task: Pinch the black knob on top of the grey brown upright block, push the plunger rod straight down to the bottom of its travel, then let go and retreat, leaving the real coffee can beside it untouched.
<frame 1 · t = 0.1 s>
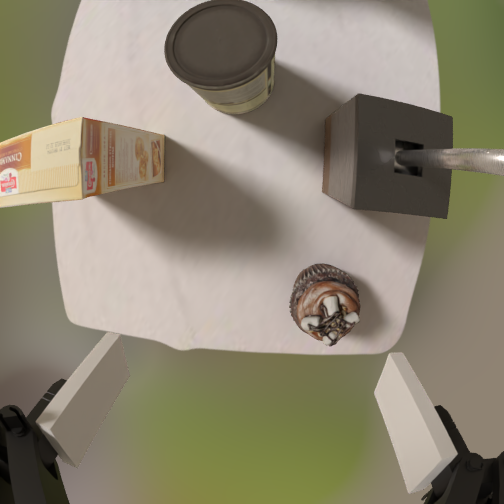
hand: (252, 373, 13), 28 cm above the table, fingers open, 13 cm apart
coffee can: (236, 80, 34), on the table
coffeecake box: (119, 161, 38), on the table
plunger: (460, 159, 14), point 23 cm above the table, slide at 0.0 cm
grey brown upright block: (359, 159, 36), on the table
cupcake: (319, 288, 42), on the table
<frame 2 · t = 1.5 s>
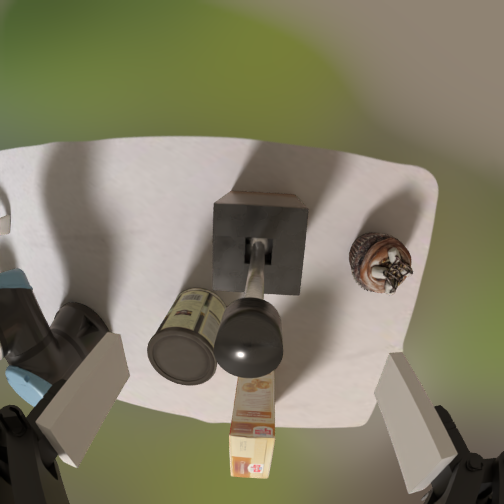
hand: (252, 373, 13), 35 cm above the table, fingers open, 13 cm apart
coffee can: (200, 312, 51), on the table
coffeecake box: (255, 384, 56), on the table
plunger: (255, 278, 24), point 23 cm above the table, slide at 0.0 cm
grey brown upright block: (261, 223, 46), on the table
cupcake: (369, 254, 47), on the table
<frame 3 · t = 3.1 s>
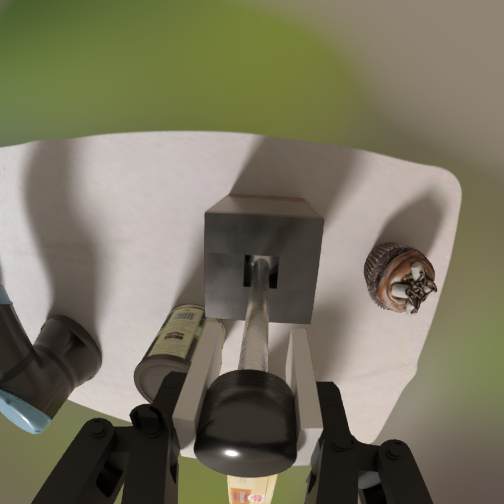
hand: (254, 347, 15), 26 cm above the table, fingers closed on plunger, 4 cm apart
coffee can: (195, 330, 45), on the table
coffeecake box: (257, 406, 50), on the table
plunger: (257, 316, 18), point 23 cm above the table, slide at 0.0 cm, touching gripper
grey brown upright block: (263, 232, 39), on the table
cupcake: (386, 267, 40), on the table
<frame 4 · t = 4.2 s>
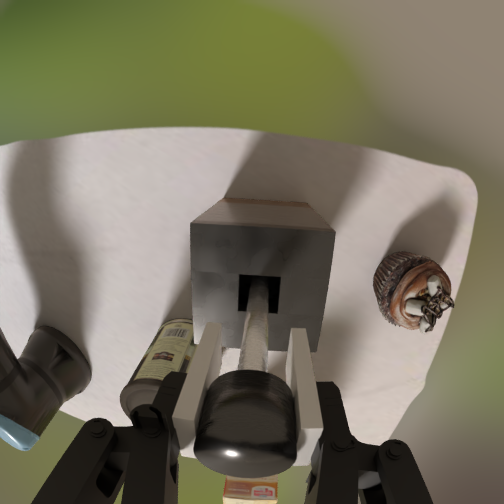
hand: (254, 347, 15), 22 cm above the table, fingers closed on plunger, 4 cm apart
coffee can: (188, 346, 41), on the table
coffeecake box: (255, 423, 45), on the table
plunger: (257, 316, 18), point 18 cm above the table, slide at 4.5 cm, touching gripper
grey brown upright block: (262, 240, 35), on the table
cupcake: (398, 278, 36), on the table
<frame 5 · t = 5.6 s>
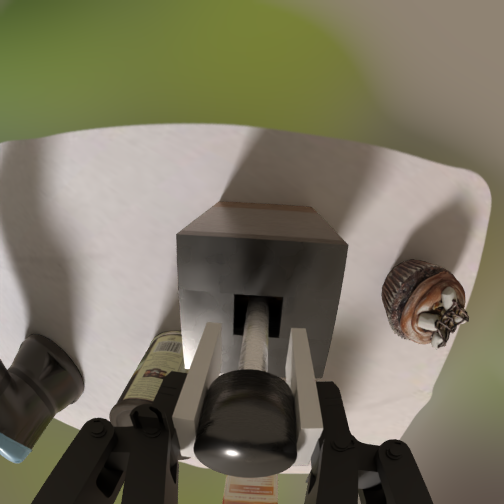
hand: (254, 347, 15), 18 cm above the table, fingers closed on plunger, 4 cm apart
coffee can: (183, 359, 38), on the table
coffeecake box: (255, 436, 42), on the table
plunger: (257, 316, 18), point 15 cm above the table, slide at 7.8 cm, touching gripper
grey brown upright block: (262, 248, 32), on the table
cupcake: (407, 287, 33), on the table
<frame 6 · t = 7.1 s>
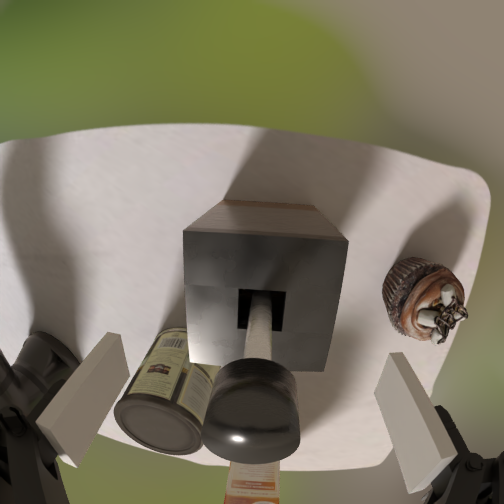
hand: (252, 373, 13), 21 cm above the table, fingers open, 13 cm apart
coffee can: (187, 356, 38), on the table
coffeecake box: (257, 432, 43), on the table
plunger: (260, 310, 18), point 15 cm above the table, slide at 7.8 cm
grey brown upright block: (265, 246, 33), on the table
cupcake: (408, 285, 33), on the table
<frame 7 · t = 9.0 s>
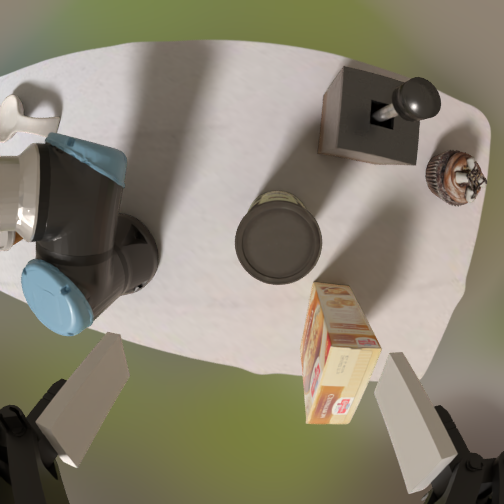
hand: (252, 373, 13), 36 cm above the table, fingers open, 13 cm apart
coffee can: (277, 221, 47), on the table
disposable coffee cup: (34, 217, 51), on the table
coffeecake box: (323, 319, 52), on the table
spoon rest: (29, 121, 45), on the table
plunger: (382, 114, 27), point 15 cm above the table, slide at 7.8 cm
grey brown upright block: (350, 129, 41), on the table
cupcake: (441, 176, 42), on the table
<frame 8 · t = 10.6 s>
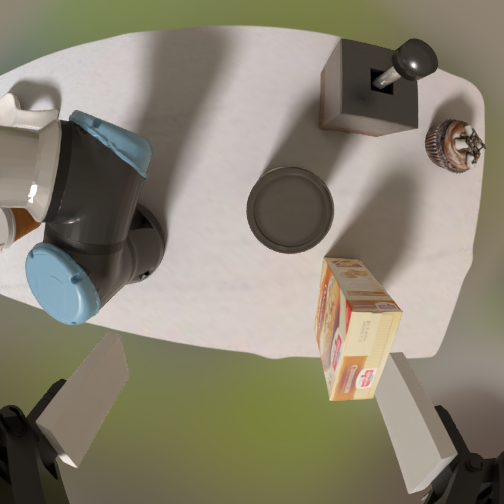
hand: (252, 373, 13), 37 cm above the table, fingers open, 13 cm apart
coffee can: (284, 197, 46), on the table
disposable coffee cup: (34, 214, 50), on the table
coffeecake box: (335, 295, 51), on the table
spoon rest: (27, 117, 43), on the table
plunger: (382, 81, 27), point 15 cm above the table, slide at 7.8 cm
grey brown upright block: (349, 104, 41), on the table
cupcake: (441, 146, 41), on the table
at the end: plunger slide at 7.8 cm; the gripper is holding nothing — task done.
